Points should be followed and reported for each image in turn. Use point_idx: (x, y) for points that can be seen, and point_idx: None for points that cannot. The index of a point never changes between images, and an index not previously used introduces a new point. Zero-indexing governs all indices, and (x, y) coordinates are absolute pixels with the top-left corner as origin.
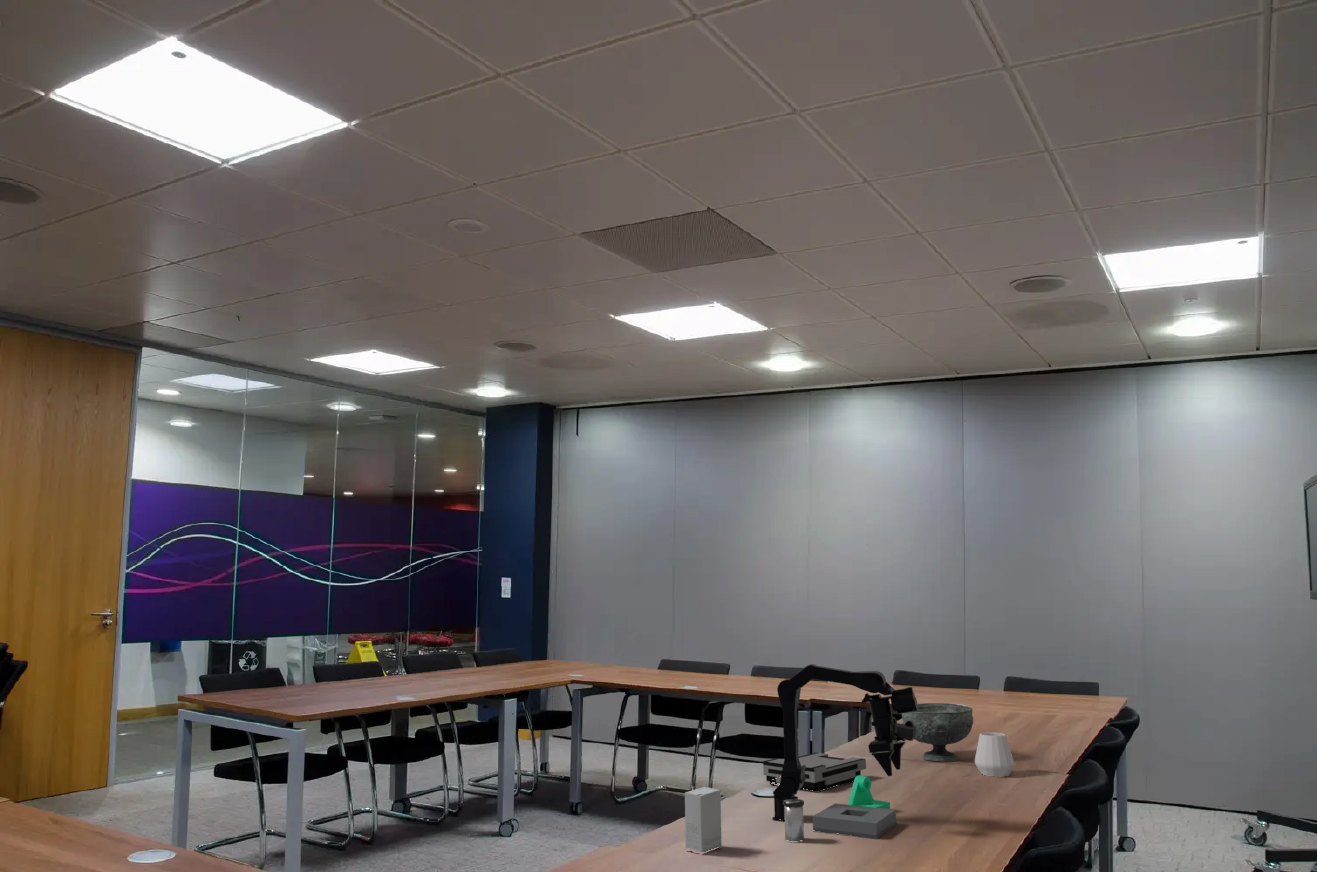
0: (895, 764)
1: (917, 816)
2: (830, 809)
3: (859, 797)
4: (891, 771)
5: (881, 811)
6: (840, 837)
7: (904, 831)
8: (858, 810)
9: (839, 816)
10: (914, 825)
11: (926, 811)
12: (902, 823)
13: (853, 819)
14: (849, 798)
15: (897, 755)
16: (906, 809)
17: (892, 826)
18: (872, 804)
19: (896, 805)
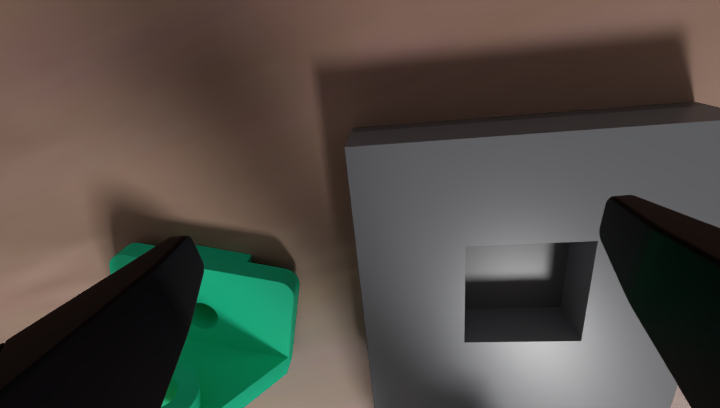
0: (180, 314)
1: (139, 99)
2: (500, 393)
3: (217, 366)
4: (679, 215)
5: (429, 197)
6: None
7: (472, 36)
8: (462, 297)
9: (635, 327)
10: (319, 40)
11: (20, 98)
12: (315, 110)
13: None
14: (263, 391)
15: (61, 395)
16: (61, 190)
17: (417, 124)
18: None
19: (35, 248)
